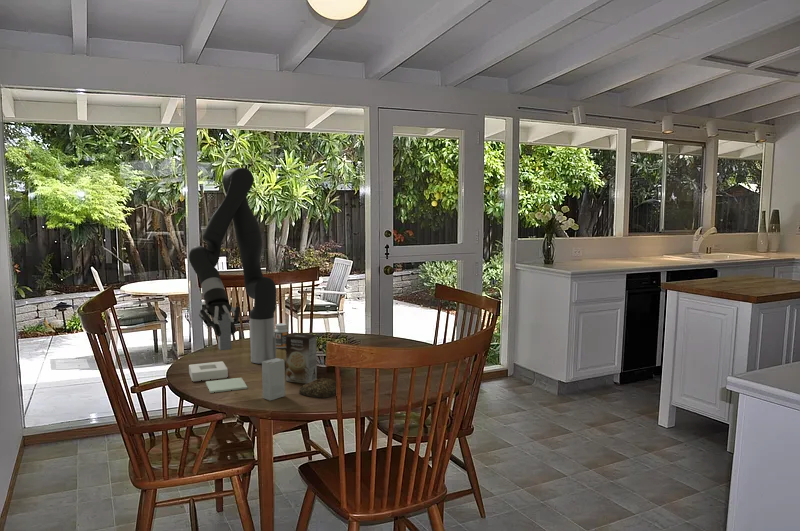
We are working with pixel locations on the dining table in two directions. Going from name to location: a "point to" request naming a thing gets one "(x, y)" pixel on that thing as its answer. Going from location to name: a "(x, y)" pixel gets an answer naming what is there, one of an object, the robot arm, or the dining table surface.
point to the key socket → (208, 371)
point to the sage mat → (226, 385)
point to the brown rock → (319, 388)
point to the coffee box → (301, 358)
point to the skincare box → (273, 378)
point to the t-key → (224, 332)
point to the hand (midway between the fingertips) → (226, 334)
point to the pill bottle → (281, 335)
